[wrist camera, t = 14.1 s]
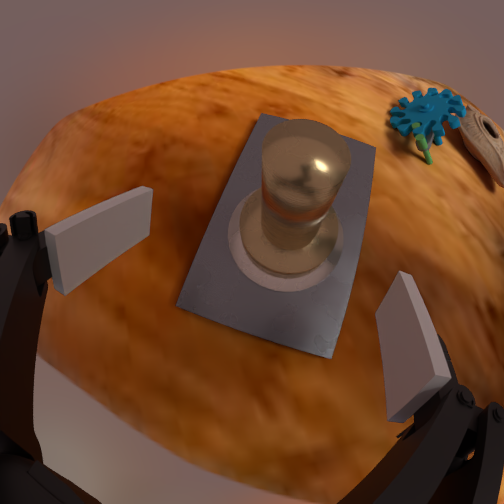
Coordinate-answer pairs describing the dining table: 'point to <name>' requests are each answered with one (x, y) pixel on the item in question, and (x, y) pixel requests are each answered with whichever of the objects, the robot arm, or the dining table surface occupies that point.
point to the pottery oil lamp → (483, 142)
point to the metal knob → (295, 199)
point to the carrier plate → (269, 287)
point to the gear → (427, 117)
